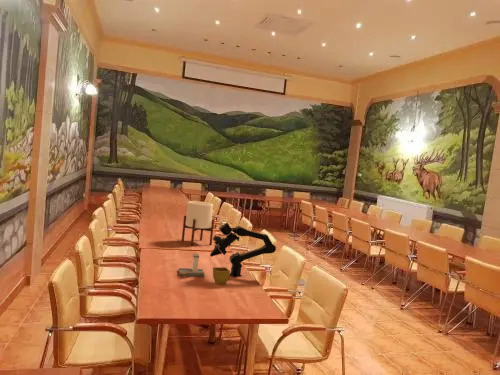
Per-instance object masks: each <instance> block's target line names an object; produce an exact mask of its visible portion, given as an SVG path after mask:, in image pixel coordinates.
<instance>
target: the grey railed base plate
mask: <svg viewBox="0 0 500 375" xmlns="http://www.w3.org/2000/svg"><path fill="white" fill-rule="evenodd" d="M177 272H178V274H179V277H195V278H196V277H202V278H205V272H204V268H198V269H197V272H192V267H178V270H177Z"/></svg>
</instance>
